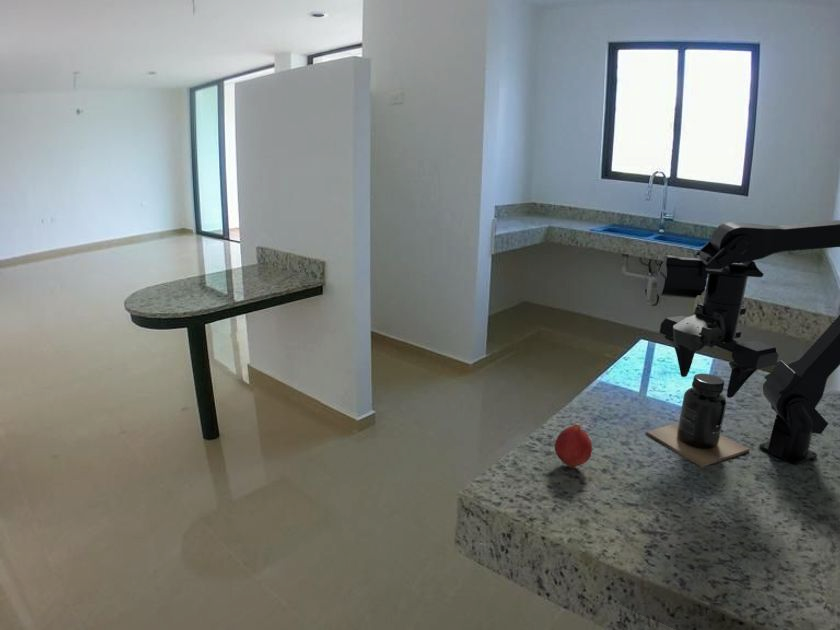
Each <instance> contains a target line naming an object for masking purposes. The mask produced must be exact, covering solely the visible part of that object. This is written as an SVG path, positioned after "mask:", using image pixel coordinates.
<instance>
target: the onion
mask: <svg viewBox="0 0 840 630" xmlns="http://www.w3.org/2000/svg"><path fill="white" fill-rule="evenodd" d="M554 451H555V454H556V455H557V458H558V459H559V460H560V461H561V462H562V463H564V464H565V465H566V466H568V467H569V468H571V469H574V468H576V467H578V466H581V465H583V464H585V463H587V462H588V460H589V459H590V458H591V455H592V451H593V444H592V440H591V438H590V437H589V435H588V434H587V433H586V431H584V430H583V429H582V428H581V424H580V423H578V422H577V423H575V424H574V423H573V425H571V426H568V427H566V428H564V429H563V430H562V431H561V432H559V434H558V435H557V437H556V439H555V443H554Z"/></svg>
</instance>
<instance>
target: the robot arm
mask: <svg viewBox="0 0 840 630" xmlns="http://www.w3.org/2000/svg"><path fill="white" fill-rule="evenodd" d="M831 248H833V249H834V248H840V219H839V220H836V219H835V220H829V221H827V220H826V221H815V222H814V221H813V222H806V223H805V222H804V223H793V224H781V225H769V224H759V223H750V222H738V221H736V222H734V221H728V222H723V223H721V224H719V225H718V226H717V227H716V228H715V229H714V231H713V232H712V234H711V236H710V240H709V241H708V242H707V243H706V244H705V245H704V246H703V247H702V248H700V249H699V250H698V251H697V252H696V253H695V254H694V255H693V257H683V256H677V255H672V254H670V255H669V254H665V255H664V259H663V262H662V263H661V264H660V268H659V271H658V272H657V276H656V292H657V293H656V294H657V295H658V297H671V298H672V297H673V298H682V299H684V298H685V299H686V298H687V299H696V298H697V297H698V296H702V294H703V293H704V297H703V301H702V303H697V306H696V307H695V310H694V312H693V314H692V315H691V316H685V315H677V316H671V317H665V318H664V319H663V320H662V321H661V322H660V326H659V333H658V334H660V335H664V339H665V340H666V341H668V343H670V344H671V345H672V346H673V347H674V350H675V355H676V358H677V363H678V369H679V374H680V377H682V378H685V377H687V376H688V375H689V372H690V369H691V367H692V364H693V361H694V357H695V353H696V352H698V351H700V350H702V349H703V348H704V347H706V346H707V347H709V348H713V347H718V348H719V349H723V350H726V351H728V352H730V353H731V358H732V360H733V361H730V362H728V365H729V367H730V369H731V372H730V377H729V380H728V385H727V390H726V397H727V398H729V399H730V398H733V397H735V395H736V394H737V393H738V391H739V390H740V389H741V388H742V387H743V385H744V384H745V383H746V382H747V380H749V378H750V377H751V376H752V375H753V374H755V372H756V371H757V370H759V369H763V368H766V367H772V366H774V368H773V370H772V371H770V372H769V373H768V374H767V375H764V379H765V382H764V383H763V385H762V392H763V396H764V398H765V399H766V401H768V402H769V404H770V407H771V409H772V410H773V411H774V412H775V413H776V415H775V418H774V420H773V425H772V430H771V434H770V438H769V440H768V441H765V442H762V443H760V444H759V448H760V449H762V450H764V451H765V452H768V453H770V454H772V455H773V456H776V457H778V458H780V459H782V460H784V461H786V462H788V463H789V464H791V465H794V466H795V465H798V464H801V463H804V462H806V461H807V462H808V461H810V460H812V459H815V458H817V457H818V453H816V452H814V451H812V450H810V446H811V442H812V438H813V435H814V434H818V435H819V434H823V432H824V431H825V429H826V428H827V427H828V425H829V423H828V422H827V420H826V419H825V418H824V417H823V416H822V415H821V414H820V412H819V411H818V410H817V409H816V407H818V405H819V403H820V401H821V400H822V399H823V397H824V393H825V389H826V385H827V382H828V379H829V378H830V376H831V375H832V374H833V373H834V372H835V371H836V370H837V369H838V368H839V367H840V314H839V315H838V316H837V318H835V319H834V321H833V322H832V323H830V325H829V326H828V327H827V328H826V330H825V331H823V333H822V334H821V335H820V336H819V338H818V339H817V340H815V342H814V343H813V344H812V345H811V346H810V347H809V349H808V350H807V351H806V352H805V353H804V354H803V355H802V356H801V357H800V358H799V359H798V360H795V361H793V362H791V363H788V364H787V363H785V362H784V361H783V360H780V361H778V359H779V352H778V350H777V348H776V347H775V346H772V345H769V344H767V343H764V342H761V341H759V340H751V341H747V342H746V341H745V342H740V341H737V340H736V339H739V338H741V334H742V331H740V330H738V326H739V322H740V317H741V316H742V315H745V314H746V311H747V308H746V307H743V302H744V298H745V291H746V286H747V283H748V278H749V277H751V278H763V277H764V272H762V271H761V270H760V269H759V268H758V266H757V265H756V262H755V261H757V260H761V259H765V258H768V257H770V256H771V255H774V254H779V253H783V252H793V251H794V252H796V251H806V250H807V251H808V250H818V249H819V250H820V249H831Z"/></svg>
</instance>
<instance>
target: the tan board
mask: <svg viewBox="0 0 840 630" xmlns="http://www.w3.org/2000/svg"><path fill="white" fill-rule="evenodd" d="M678 424H679V422H676V423H673V424H668V425H665V426H661V427H658V428H655V429H651V430H648V431H647V430H646V431H645V434H646V436H649V437H650V438H652V439H653V440H656V441H657V442H658V443H660V444H662V445H664V446H665V447H667V448H668V449H670V450H672V451H674V452H675V453H676V454H679V455H680V456H682V457H683V458H686V459H687V460H689V461H691V462H693V463H694V464H696V465H697V466H699V467H701V468H704V467H706V466H709V465H712V464H715V463H718V462H721V461H725V460H728V459H730V458H733V457H737V456H740V455H743V454H745V453H749V452H750V448H749V447H746V446H744V445H742V444H740V443H738V442H737V441H735V440H733V439H731V438H729V437H727V436H725V435H723V434H722V433H721V434H720V438H719V442H718V445H717V446H716V447H714V448H710V449H702V448H696V447H693V446H690V445H687V444H685V443H684V442H682V441H681V440H680V439H679V438H678V436H677V430H678Z"/></svg>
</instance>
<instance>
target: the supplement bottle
mask: <svg viewBox="0 0 840 630" xmlns="http://www.w3.org/2000/svg"><path fill="white" fill-rule="evenodd" d="M724 387H725V380H724V379H723V378H721V377H720V376H717V375H714V374H709V373H697V374H695V375H693V380H692V382H691V387H690V388H688V389H687V390H685V392H684V395H683V399H682V404H681V408H680V409H681V410H680V414H679V415H680V416H679V420H678V423H679V424H678V430H677V436H678V438H679V439H680V440H681V441H682V442H684V443H685V444H687V445H690V446H693V447H696V448H702V449H710V448H714V447H716V446H717V445H718V442H719V438H720V434H721V435H722V429H723V423H724V418H725V416H726V414H725V413H726V410H727V404H728V401H727V398H726V396H725V395H724V394H723V393H724V390H725V389H724Z"/></svg>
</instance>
